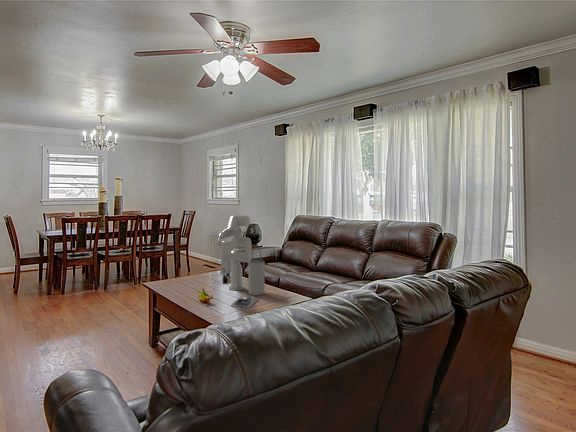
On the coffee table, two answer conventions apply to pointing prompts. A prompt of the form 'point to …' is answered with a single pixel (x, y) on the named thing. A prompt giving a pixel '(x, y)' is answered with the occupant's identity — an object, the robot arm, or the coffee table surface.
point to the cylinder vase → (256, 277)
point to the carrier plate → (244, 302)
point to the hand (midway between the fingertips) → (226, 282)
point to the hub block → (227, 280)
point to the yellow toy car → (204, 296)
